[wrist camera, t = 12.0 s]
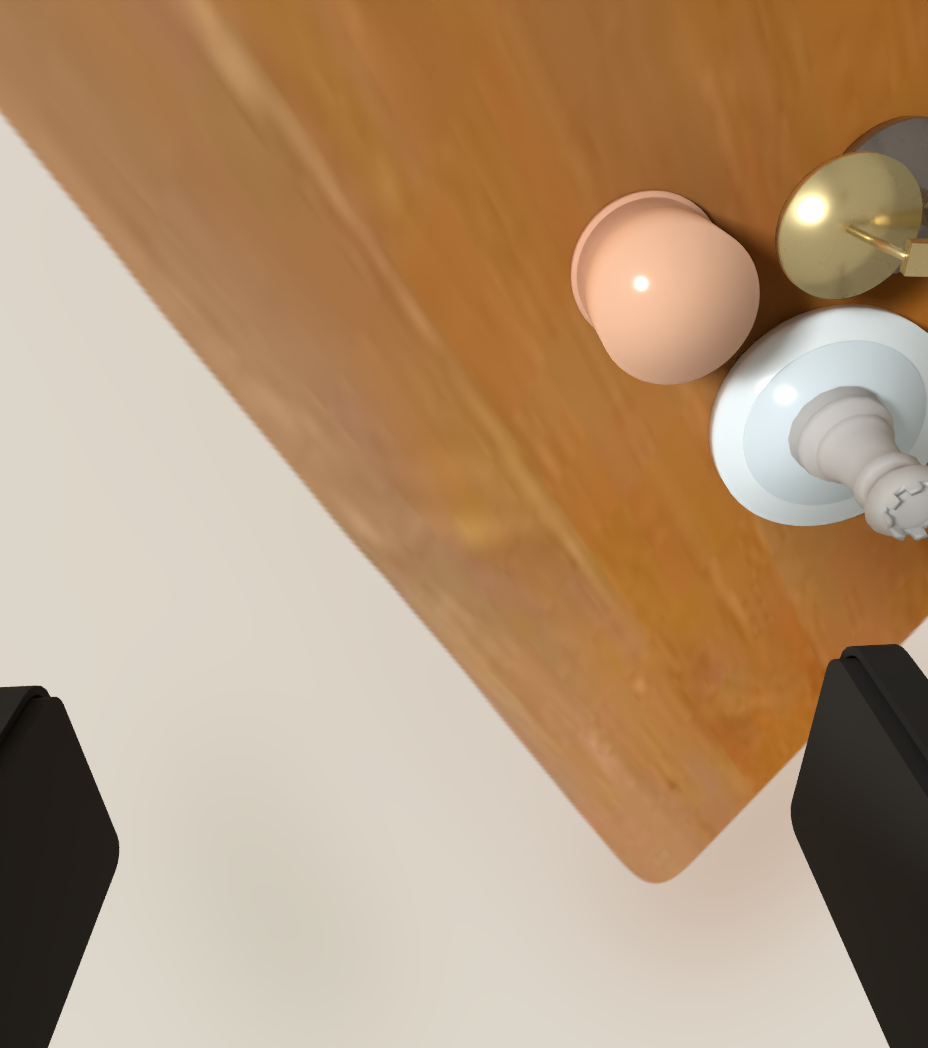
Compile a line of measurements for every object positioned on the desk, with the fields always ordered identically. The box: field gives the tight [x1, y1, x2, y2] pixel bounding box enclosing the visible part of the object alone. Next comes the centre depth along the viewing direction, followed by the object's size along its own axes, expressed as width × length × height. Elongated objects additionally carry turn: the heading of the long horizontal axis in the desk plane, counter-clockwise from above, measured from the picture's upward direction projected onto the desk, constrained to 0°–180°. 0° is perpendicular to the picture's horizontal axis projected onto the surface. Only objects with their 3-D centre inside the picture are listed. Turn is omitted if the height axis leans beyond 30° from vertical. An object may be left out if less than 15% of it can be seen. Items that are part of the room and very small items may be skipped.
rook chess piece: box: [788, 386, 928, 541], centre depth 34 cm, size 4×4×8 cm
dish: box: [708, 304, 928, 526], centre depth 38 cm, size 11×11×1 cm
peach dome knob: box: [570, 190, 760, 385], centre depth 33 cm, size 6×6×6 cm
